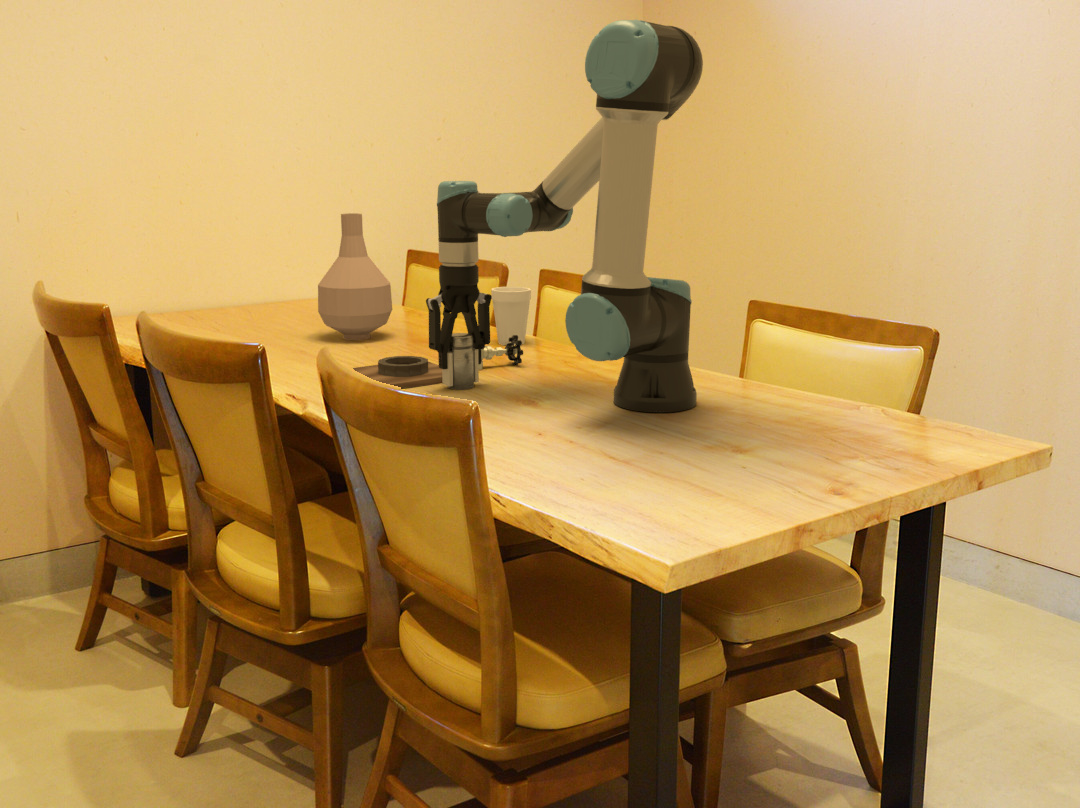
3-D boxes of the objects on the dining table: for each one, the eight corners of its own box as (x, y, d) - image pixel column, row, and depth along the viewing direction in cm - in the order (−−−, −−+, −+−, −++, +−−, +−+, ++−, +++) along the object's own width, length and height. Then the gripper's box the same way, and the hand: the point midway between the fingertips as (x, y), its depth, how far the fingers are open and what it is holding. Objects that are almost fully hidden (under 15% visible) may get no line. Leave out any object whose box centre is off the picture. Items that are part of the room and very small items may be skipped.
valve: (470, 372, 213) (523, 368, 218) (470, 341, 211) (523, 337, 216) (459, 366, 218) (511, 362, 223) (459, 336, 217) (511, 332, 222)
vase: (400, 341, 246) (396, 215, 239) (327, 346, 240) (320, 217, 233) (383, 329, 262) (379, 211, 255) (314, 334, 256) (308, 212, 248)
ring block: (464, 379, 206) (464, 362, 205) (384, 391, 196) (384, 374, 195) (420, 364, 220) (420, 348, 219) (343, 374, 210) (343, 358, 209)
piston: (479, 387, 199) (478, 335, 197) (456, 391, 196) (455, 338, 194) (465, 382, 203) (464, 331, 201) (442, 385, 200) (441, 334, 198)
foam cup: (487, 345, 241) (486, 291, 238) (497, 338, 250) (497, 286, 247) (525, 347, 239) (525, 292, 236) (535, 340, 248) (535, 287, 244)
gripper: (487, 259, 202) (489, 373, 208) (406, 265, 192) (410, 385, 197) (509, 262, 196) (509, 380, 202) (426, 268, 186) (429, 392, 191)
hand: (460, 382), depth 200 cm, fingers closed on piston, 5 cm apart
